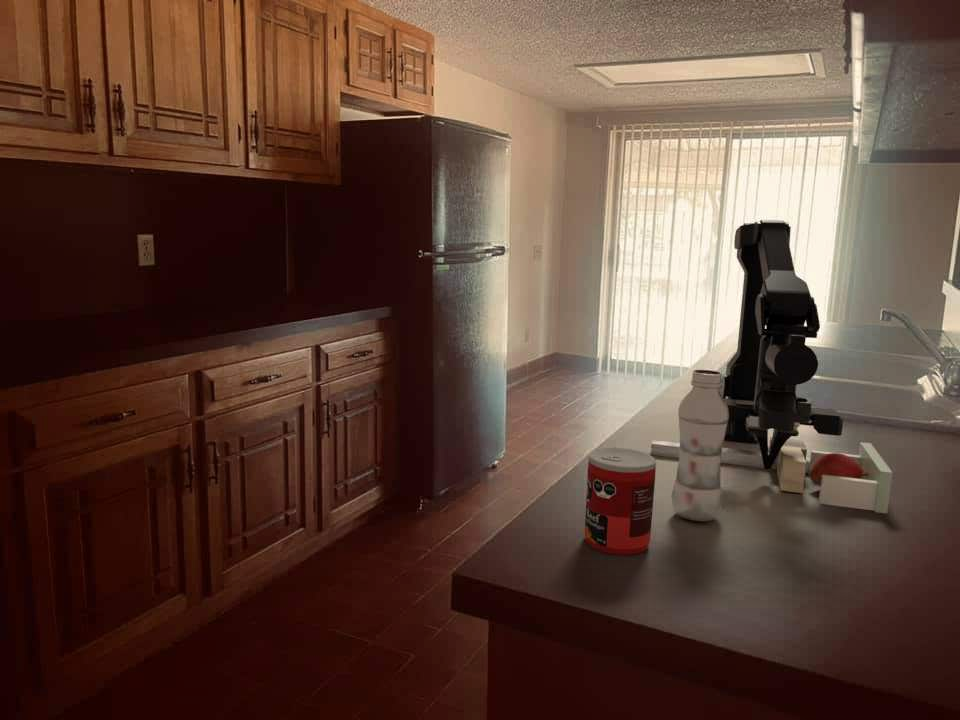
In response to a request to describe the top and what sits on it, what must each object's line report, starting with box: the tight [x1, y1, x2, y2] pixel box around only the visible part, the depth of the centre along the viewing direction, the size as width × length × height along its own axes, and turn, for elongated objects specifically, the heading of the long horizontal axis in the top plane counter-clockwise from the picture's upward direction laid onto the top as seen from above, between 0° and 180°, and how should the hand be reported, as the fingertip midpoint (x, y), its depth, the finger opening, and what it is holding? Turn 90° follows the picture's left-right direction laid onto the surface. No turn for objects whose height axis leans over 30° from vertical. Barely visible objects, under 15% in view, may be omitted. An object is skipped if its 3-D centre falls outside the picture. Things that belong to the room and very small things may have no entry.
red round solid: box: [808, 452, 868, 487], centre depth 109 cm, size 6×6×8 cm
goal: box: [807, 441, 893, 515], centre depth 109 cm, size 15×8×6 cm, turn 162°
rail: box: [650, 439, 810, 474], centre depth 122 cm, size 2×31×2 cm, turn 72°
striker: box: [768, 436, 808, 494], centre depth 114 cm, size 14×5×5 cm, turn 162°
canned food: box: [584, 447, 657, 556], centre depth 88 cm, size 8×8×11 cm
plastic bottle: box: [671, 368, 729, 522], centre depth 96 cm, size 6×7×20 cm
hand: (767, 469), depth 113 cm, fingers closed
